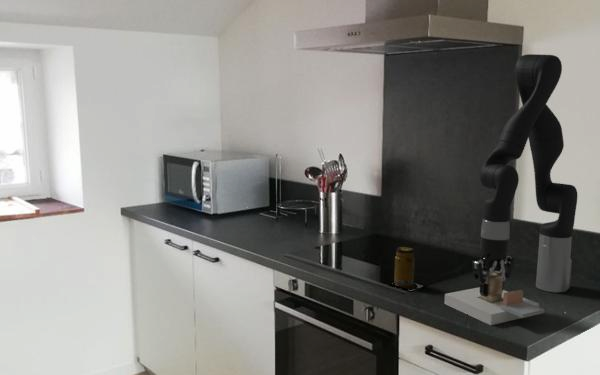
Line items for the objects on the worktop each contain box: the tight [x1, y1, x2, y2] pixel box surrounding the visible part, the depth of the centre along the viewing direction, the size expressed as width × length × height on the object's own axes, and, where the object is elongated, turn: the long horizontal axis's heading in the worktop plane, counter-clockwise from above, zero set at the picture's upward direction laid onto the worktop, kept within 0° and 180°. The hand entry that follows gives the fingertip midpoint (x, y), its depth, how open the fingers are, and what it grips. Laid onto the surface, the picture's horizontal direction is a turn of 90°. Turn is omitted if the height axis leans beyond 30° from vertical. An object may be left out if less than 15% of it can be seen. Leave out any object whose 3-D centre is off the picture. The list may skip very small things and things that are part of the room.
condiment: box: [393, 246, 424, 292], centre depth 188 cm, size 7×8×12 cm
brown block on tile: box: [500, 289, 545, 319], centre depth 159 cm, size 8×8×4 cm
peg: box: [480, 272, 503, 303], centre depth 169 cm, size 4×4×10 cm
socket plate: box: [444, 286, 540, 326], centre depth 170 cm, size 18×18×3 cm
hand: (491, 294), depth 169 cm, fingers open, 5 cm apart
